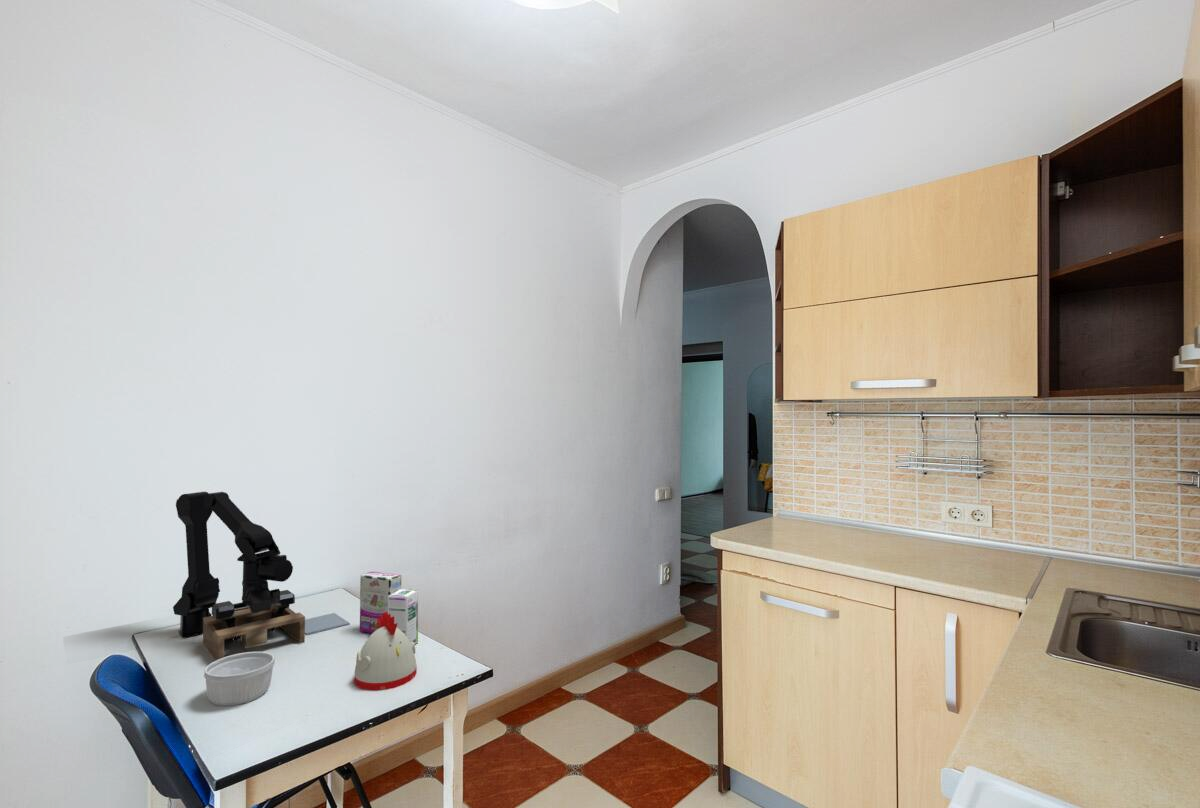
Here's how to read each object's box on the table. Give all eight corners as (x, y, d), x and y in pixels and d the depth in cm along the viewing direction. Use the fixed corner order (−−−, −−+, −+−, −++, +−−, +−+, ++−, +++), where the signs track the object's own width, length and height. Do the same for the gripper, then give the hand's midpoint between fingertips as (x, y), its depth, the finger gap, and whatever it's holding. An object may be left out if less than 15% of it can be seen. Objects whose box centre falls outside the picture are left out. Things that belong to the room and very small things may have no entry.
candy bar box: (401, 632, 163) (402, 574, 164) (389, 638, 159) (390, 579, 159) (371, 626, 167) (372, 570, 168) (358, 632, 163) (359, 574, 163)
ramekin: (258, 675, 135) (258, 646, 136) (285, 691, 128) (285, 660, 128) (193, 697, 125) (194, 665, 125) (219, 716, 117) (219, 682, 117)
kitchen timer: (370, 696, 126) (372, 628, 126) (344, 677, 135) (345, 613, 135) (427, 676, 136) (428, 612, 136) (398, 659, 145) (399, 600, 146)
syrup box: (407, 651, 150) (407, 596, 150) (386, 649, 151) (387, 594, 151) (418, 643, 155) (418, 589, 156) (398, 641, 156) (399, 588, 157)
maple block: (245, 648, 151) (246, 629, 151) (240, 643, 154) (241, 624, 155) (266, 643, 154) (267, 625, 155) (261, 638, 158) (261, 620, 158)
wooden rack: (218, 664, 141) (218, 636, 141) (202, 643, 154) (203, 617, 154) (304, 642, 155) (305, 616, 155) (283, 624, 168) (284, 601, 168)
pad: (306, 635, 160) (306, 633, 160) (292, 624, 169) (292, 622, 169) (349, 624, 169) (349, 622, 169) (334, 614, 177) (334, 612, 177)
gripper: (221, 591, 143) (220, 654, 142) (301, 577, 156) (300, 634, 155) (211, 582, 151) (210, 641, 150) (288, 569, 164) (287, 623, 163)
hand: (253, 635), depth 155 cm, fingers open, 9 cm apart
